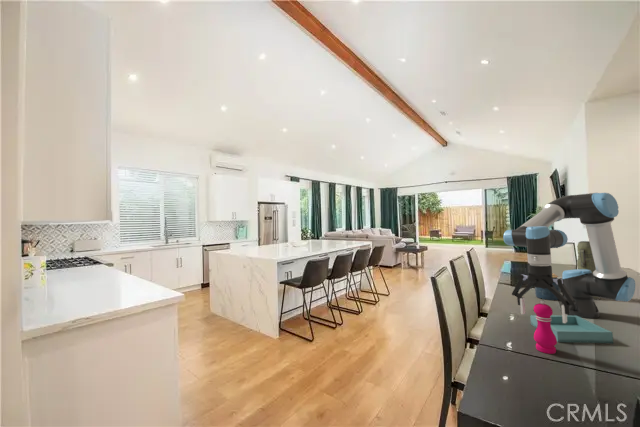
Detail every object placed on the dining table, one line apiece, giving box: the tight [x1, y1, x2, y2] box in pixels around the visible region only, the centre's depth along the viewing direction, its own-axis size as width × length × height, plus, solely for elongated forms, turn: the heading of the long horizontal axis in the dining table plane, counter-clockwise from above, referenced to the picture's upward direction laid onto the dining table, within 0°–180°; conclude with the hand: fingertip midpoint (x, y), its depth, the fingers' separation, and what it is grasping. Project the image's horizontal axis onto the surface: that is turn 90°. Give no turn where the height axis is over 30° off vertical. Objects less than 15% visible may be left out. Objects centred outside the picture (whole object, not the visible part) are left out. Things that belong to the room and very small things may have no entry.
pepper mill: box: [533, 299, 558, 355], centre depth 111 cm, size 7×7×20 cm
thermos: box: [576, 240, 600, 301], centre depth 173 cm, size 9×12×35 cm
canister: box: [534, 272, 562, 301], centre depth 177 cm, size 13×13×18 cm
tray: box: [529, 314, 614, 344], centre depth 125 cm, size 20×20×4 cm
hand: (543, 317), depth 111 cm, fingers open, 13 cm apart
